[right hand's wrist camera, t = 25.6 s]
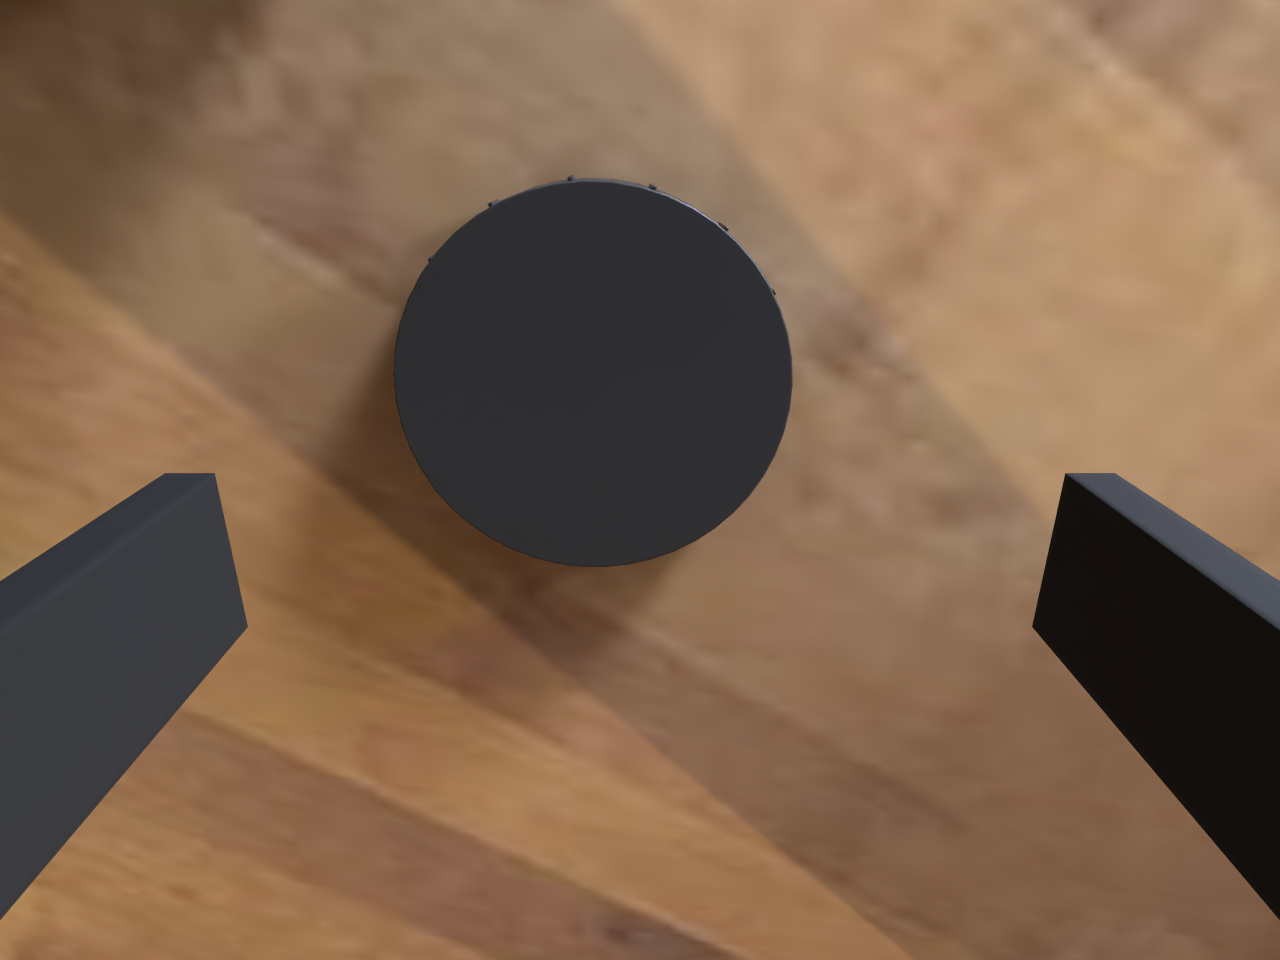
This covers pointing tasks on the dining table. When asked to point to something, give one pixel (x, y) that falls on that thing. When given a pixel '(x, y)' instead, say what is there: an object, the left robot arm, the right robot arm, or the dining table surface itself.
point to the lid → (593, 372)
